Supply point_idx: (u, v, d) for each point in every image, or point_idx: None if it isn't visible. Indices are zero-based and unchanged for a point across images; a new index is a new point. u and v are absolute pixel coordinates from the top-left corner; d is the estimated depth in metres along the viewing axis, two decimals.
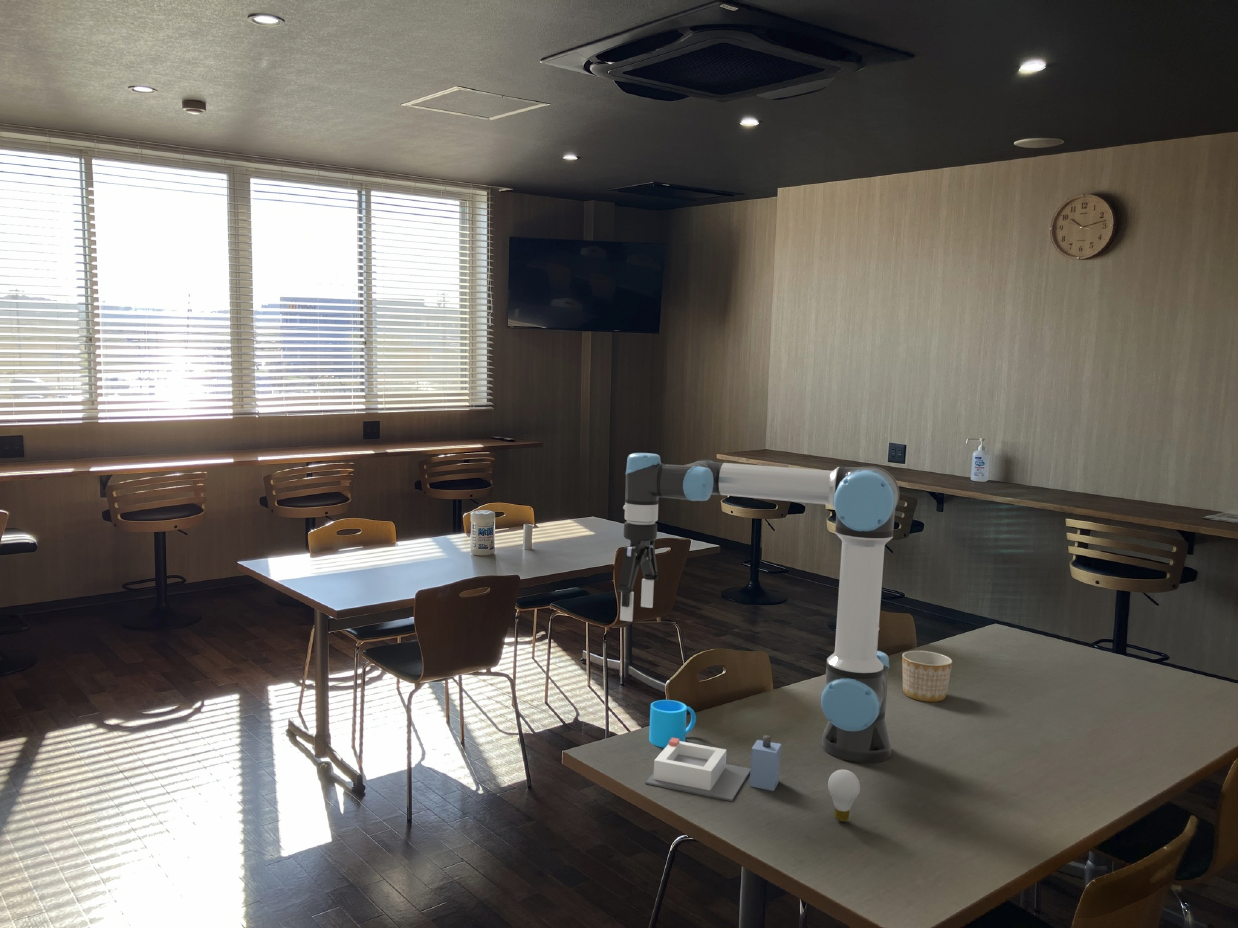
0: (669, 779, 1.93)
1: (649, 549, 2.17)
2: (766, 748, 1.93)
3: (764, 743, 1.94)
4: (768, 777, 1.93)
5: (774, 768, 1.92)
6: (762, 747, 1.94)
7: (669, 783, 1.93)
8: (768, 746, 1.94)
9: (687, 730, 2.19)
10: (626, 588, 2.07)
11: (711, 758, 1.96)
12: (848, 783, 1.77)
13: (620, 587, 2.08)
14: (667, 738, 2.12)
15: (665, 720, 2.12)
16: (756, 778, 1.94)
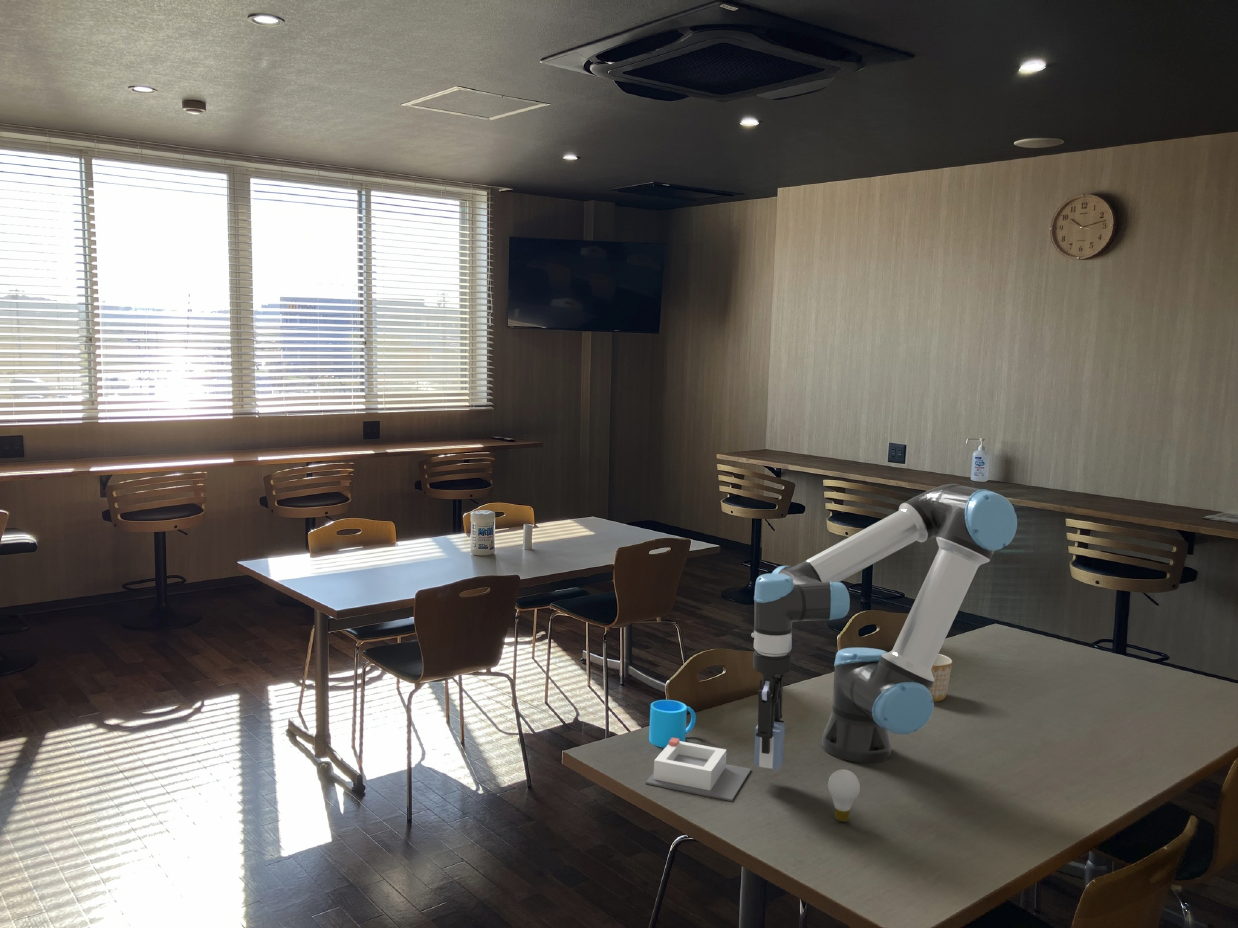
0: (669, 779, 1.93)
1: (782, 681, 1.94)
2: None
3: None
4: (773, 757, 1.92)
5: (778, 747, 1.92)
6: None
7: (669, 783, 1.93)
8: None
9: (687, 730, 2.19)
10: (768, 735, 1.89)
11: (711, 758, 1.96)
12: (848, 783, 1.77)
13: (761, 735, 1.89)
14: (667, 738, 2.12)
15: (665, 720, 2.12)
16: None
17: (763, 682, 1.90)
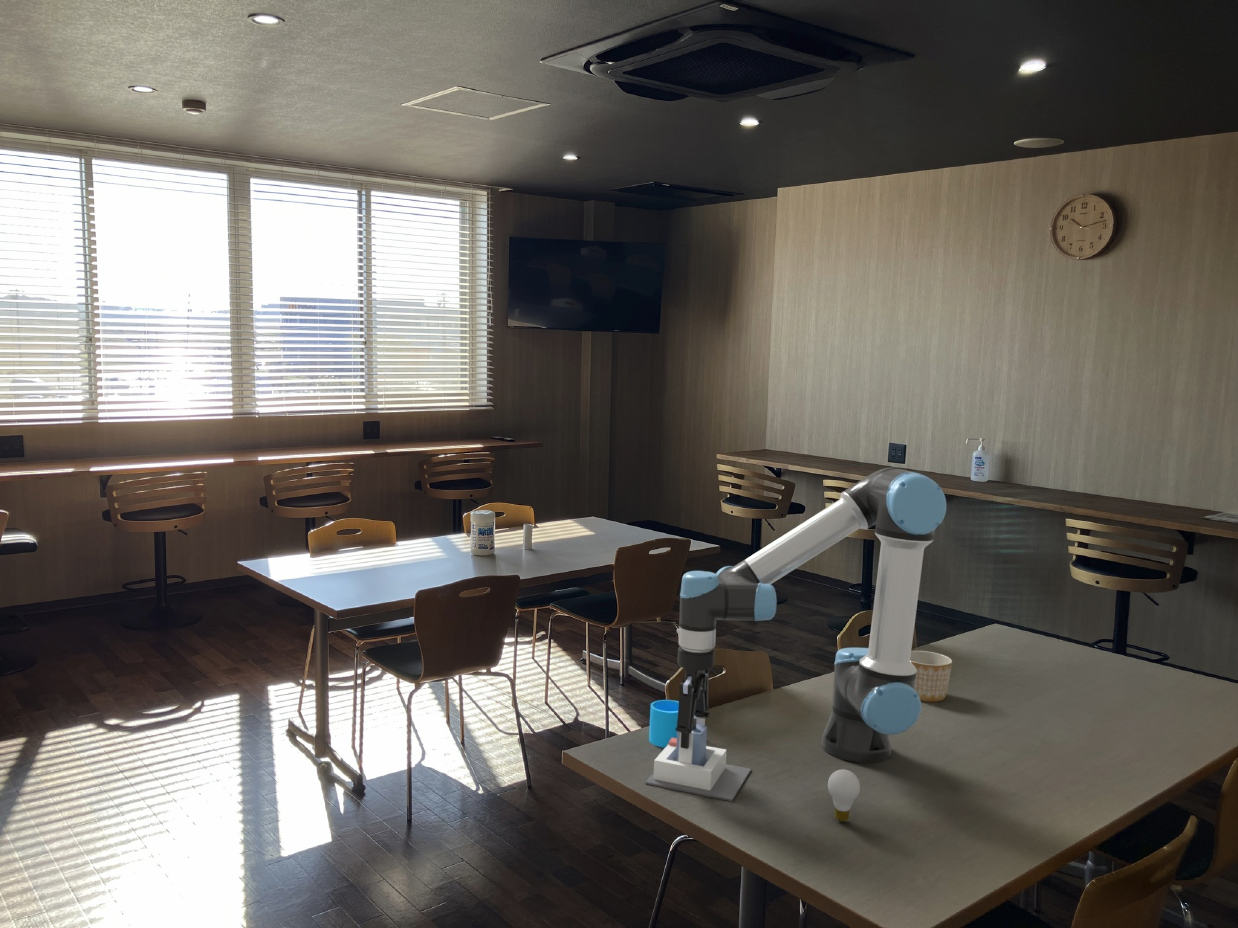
0: (669, 779, 1.93)
1: (705, 677, 1.97)
2: (692, 730, 1.96)
3: None
4: (693, 759, 1.95)
5: (699, 749, 1.94)
6: None
7: (669, 783, 1.93)
8: (694, 728, 1.97)
9: None
10: (686, 730, 1.90)
11: (711, 758, 1.96)
12: (848, 783, 1.77)
13: (679, 729, 1.90)
14: (667, 738, 2.12)
15: (665, 720, 2.12)
16: None
17: (686, 677, 1.93)
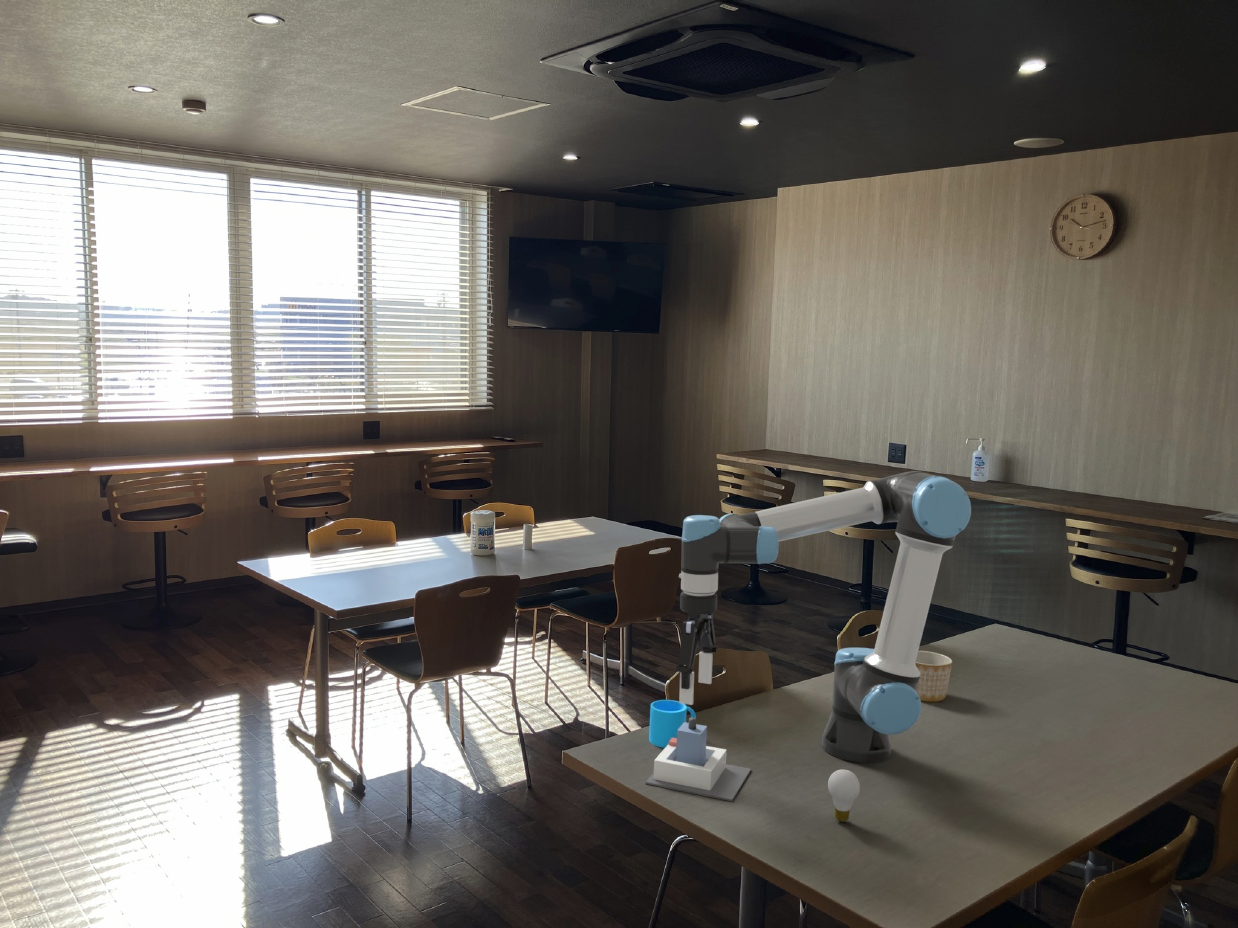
0: (669, 779, 1.93)
1: (708, 621, 1.95)
2: (692, 730, 1.96)
3: (690, 725, 1.97)
4: (693, 759, 1.95)
5: (699, 749, 1.94)
6: (687, 729, 1.97)
7: (669, 783, 1.93)
8: (694, 728, 1.97)
9: None
10: (687, 669, 1.86)
11: (711, 758, 1.96)
12: (848, 783, 1.77)
13: (680, 668, 1.86)
14: (667, 738, 2.12)
15: (665, 720, 2.12)
16: (681, 759, 1.96)
17: (689, 619, 1.92)
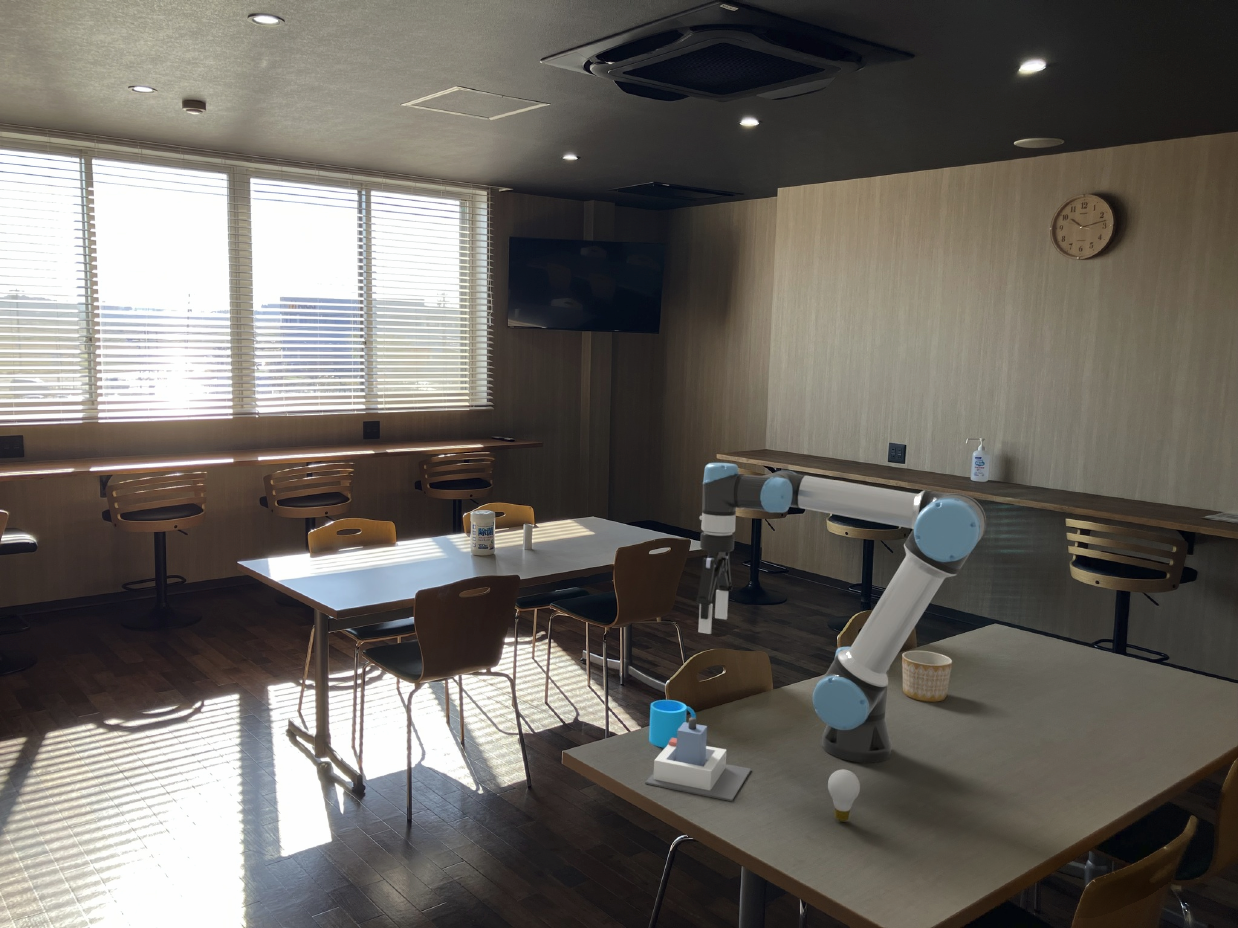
0: (669, 779, 1.93)
1: (726, 560, 2.14)
2: (692, 730, 1.96)
3: (690, 725, 1.97)
4: (693, 759, 1.95)
5: (699, 749, 1.94)
6: (687, 729, 1.97)
7: (669, 783, 1.93)
8: (694, 728, 1.97)
9: None
10: (706, 600, 2.04)
11: (711, 758, 1.96)
12: (848, 783, 1.77)
13: (700, 599, 2.05)
14: (667, 738, 2.12)
15: (665, 720, 2.12)
16: (681, 759, 1.96)
17: (708, 556, 2.10)
